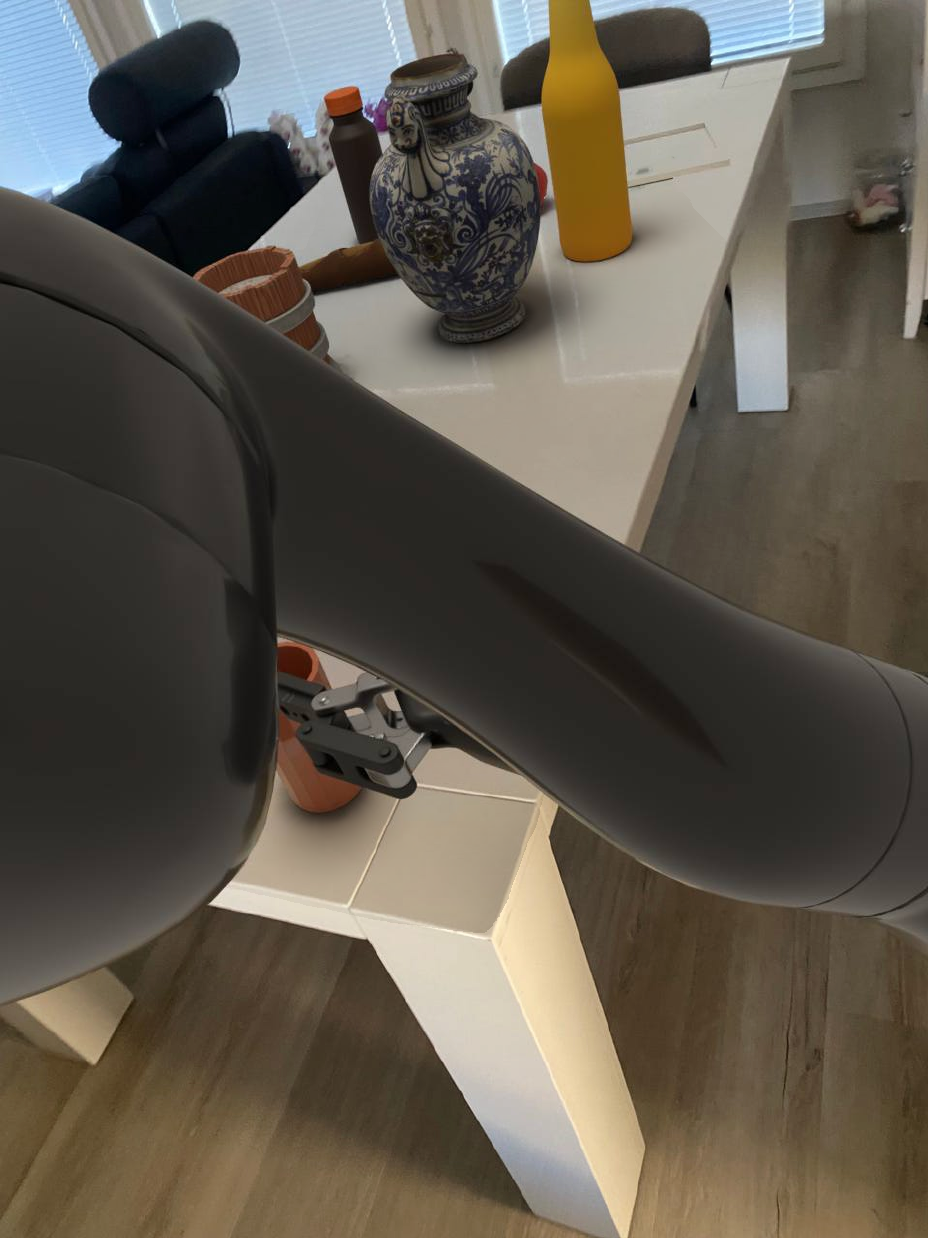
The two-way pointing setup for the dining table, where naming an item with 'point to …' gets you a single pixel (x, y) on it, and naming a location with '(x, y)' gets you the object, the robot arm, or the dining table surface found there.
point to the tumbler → (292, 758)
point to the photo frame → (678, 172)
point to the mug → (271, 294)
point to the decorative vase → (455, 200)
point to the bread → (348, 266)
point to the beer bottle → (584, 138)
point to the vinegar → (354, 156)
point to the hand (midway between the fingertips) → (332, 635)
